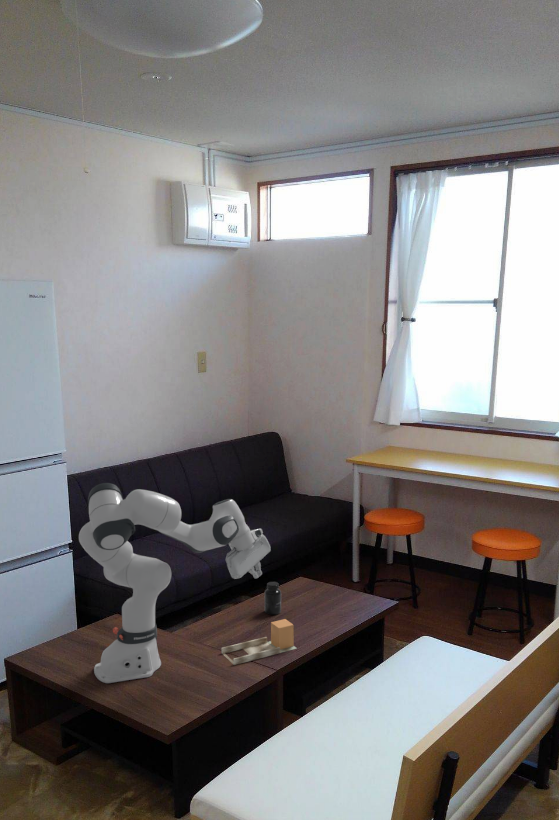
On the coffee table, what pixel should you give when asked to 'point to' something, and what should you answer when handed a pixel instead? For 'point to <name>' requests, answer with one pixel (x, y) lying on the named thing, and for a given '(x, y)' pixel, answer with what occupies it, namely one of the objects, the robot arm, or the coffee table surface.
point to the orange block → (282, 634)
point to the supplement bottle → (272, 599)
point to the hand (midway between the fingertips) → (258, 576)
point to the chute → (254, 650)
